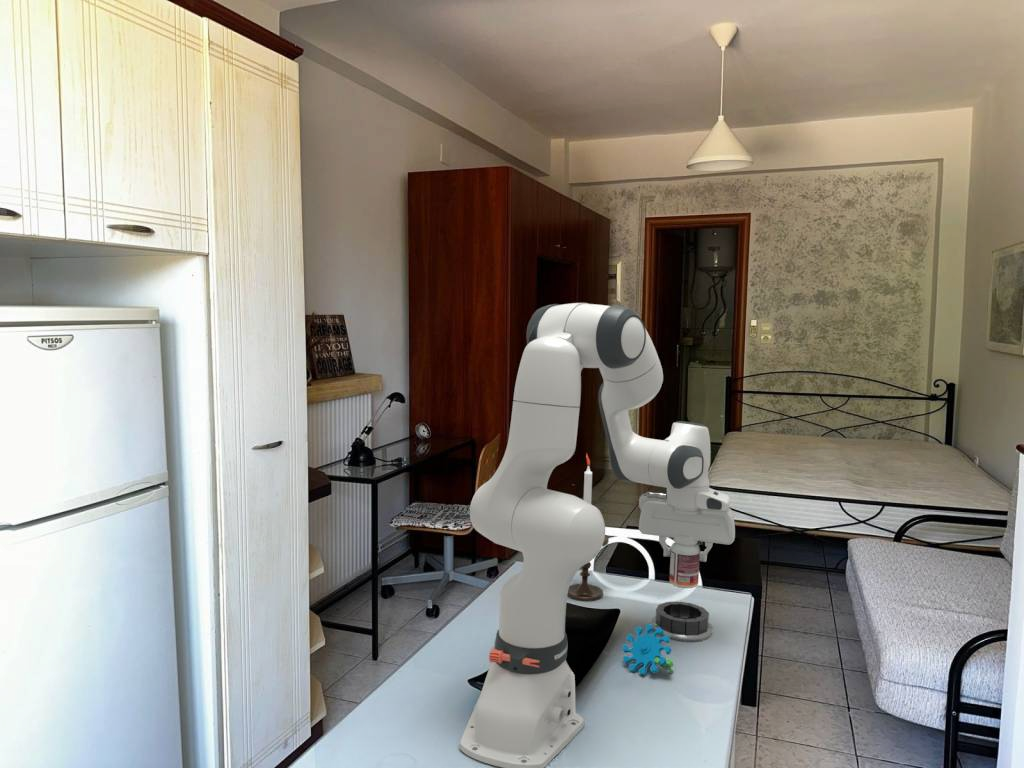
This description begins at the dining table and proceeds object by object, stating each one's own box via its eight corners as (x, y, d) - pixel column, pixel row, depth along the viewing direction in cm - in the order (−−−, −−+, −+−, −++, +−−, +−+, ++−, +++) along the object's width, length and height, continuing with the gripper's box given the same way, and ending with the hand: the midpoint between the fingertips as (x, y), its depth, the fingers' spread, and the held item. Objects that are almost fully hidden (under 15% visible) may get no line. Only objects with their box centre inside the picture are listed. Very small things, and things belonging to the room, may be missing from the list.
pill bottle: (704, 585, 156) (706, 534, 155) (685, 591, 152) (688, 539, 151) (681, 576, 161) (684, 527, 160) (663, 582, 157) (665, 531, 156)
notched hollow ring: (709, 646, 149) (710, 627, 149) (646, 635, 154) (647, 617, 153) (715, 622, 161) (715, 605, 161) (656, 613, 166) (657, 596, 165)
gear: (610, 654, 141) (641, 613, 144) (623, 668, 144) (653, 628, 147) (651, 685, 132) (683, 641, 135) (664, 699, 135) (694, 656, 138)
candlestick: (553, 591, 178) (557, 451, 175) (585, 583, 184) (590, 448, 181) (582, 606, 169) (587, 459, 166) (615, 596, 175) (621, 455, 173)
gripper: (636, 494, 156) (634, 556, 157) (735, 504, 148) (732, 569, 150) (642, 487, 162) (640, 547, 163) (737, 497, 154) (734, 560, 156)
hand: (685, 558), depth 156 cm, fingers closed on pill bottle, 6 cm apart
